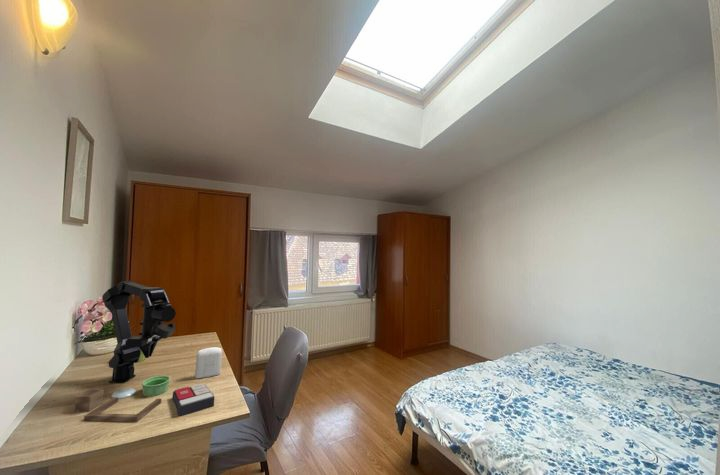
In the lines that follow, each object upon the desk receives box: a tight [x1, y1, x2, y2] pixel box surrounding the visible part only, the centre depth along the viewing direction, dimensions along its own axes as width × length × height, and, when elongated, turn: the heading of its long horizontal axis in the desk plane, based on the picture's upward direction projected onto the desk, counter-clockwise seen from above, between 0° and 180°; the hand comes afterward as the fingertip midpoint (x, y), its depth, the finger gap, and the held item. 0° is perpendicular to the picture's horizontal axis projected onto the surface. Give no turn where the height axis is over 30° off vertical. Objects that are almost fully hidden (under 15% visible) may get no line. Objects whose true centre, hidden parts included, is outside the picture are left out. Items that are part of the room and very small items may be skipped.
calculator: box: [172, 382, 215, 417], centre depth 104 cm, size 11×4×15 cm
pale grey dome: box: [110, 387, 136, 400], centre depth 107 cm, size 7×7×1 cm
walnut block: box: [74, 388, 105, 413], centre depth 98 cm, size 5×5×5 cm
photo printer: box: [194, 346, 223, 379], centre depth 126 cm, size 10×4×12 cm, turn 123°
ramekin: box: [141, 375, 171, 397], centre depth 110 cm, size 9×9×4 cm
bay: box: [83, 397, 162, 423], centre depth 96 cm, size 17×12×2 cm
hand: (148, 357), depth 114 cm, fingers closed
